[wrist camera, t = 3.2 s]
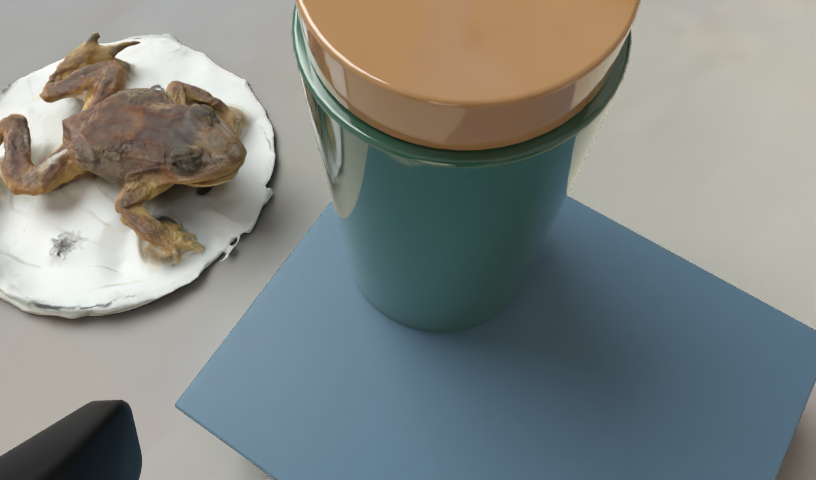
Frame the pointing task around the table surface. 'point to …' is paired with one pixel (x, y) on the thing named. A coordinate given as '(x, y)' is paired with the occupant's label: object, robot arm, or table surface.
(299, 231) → the table surface
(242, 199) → the frog figurine
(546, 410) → the slate blue base plate
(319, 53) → the canister
